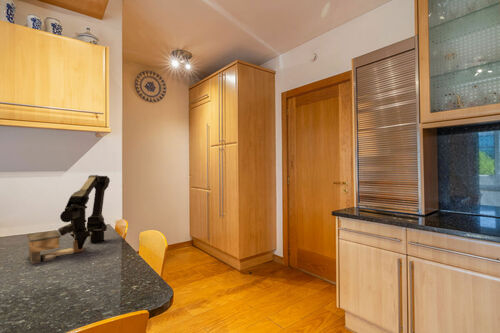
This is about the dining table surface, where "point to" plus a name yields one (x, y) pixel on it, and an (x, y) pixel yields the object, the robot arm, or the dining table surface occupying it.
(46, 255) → the token
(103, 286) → the dining table surface
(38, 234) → the cabinet
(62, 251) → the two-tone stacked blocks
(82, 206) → the robot arm
